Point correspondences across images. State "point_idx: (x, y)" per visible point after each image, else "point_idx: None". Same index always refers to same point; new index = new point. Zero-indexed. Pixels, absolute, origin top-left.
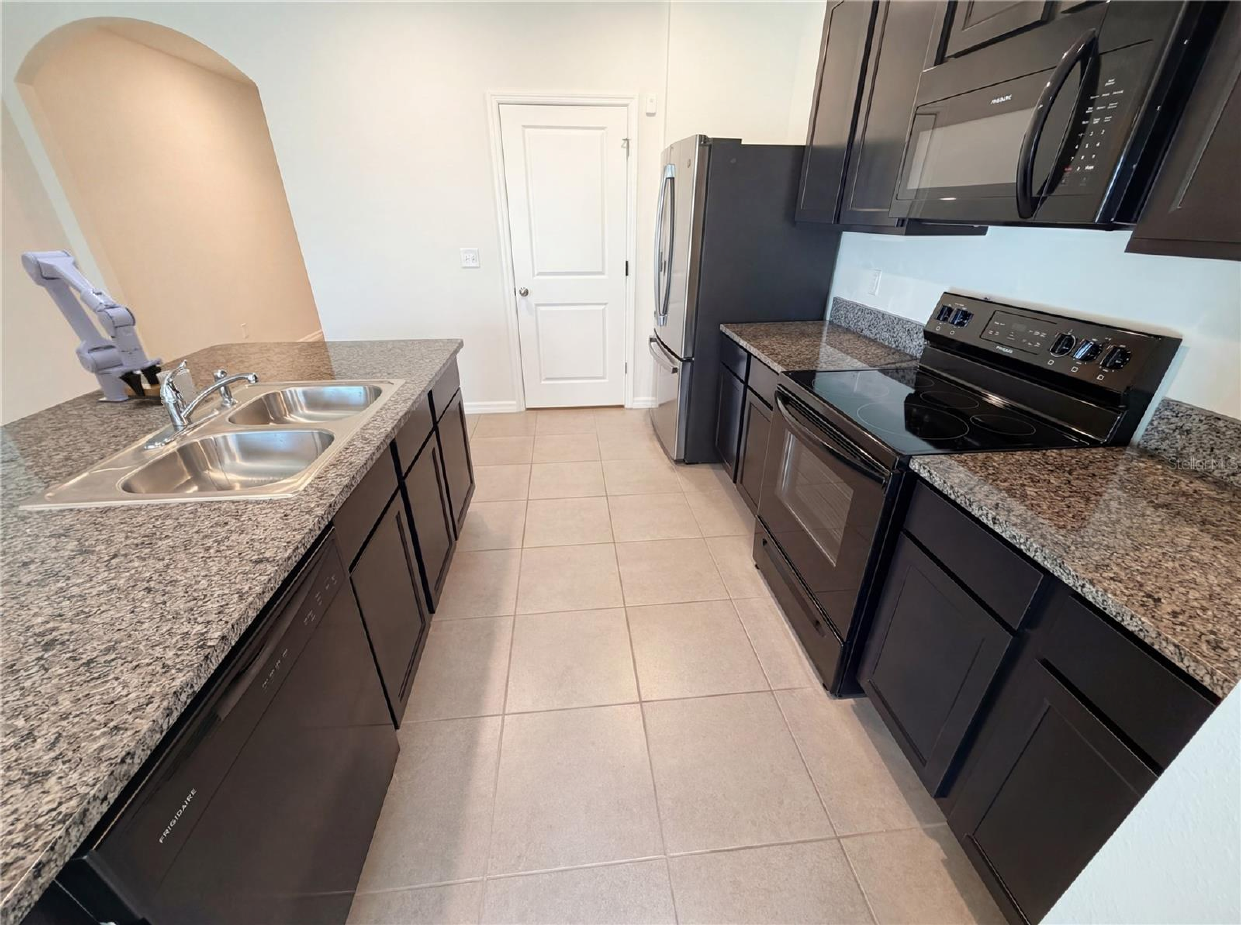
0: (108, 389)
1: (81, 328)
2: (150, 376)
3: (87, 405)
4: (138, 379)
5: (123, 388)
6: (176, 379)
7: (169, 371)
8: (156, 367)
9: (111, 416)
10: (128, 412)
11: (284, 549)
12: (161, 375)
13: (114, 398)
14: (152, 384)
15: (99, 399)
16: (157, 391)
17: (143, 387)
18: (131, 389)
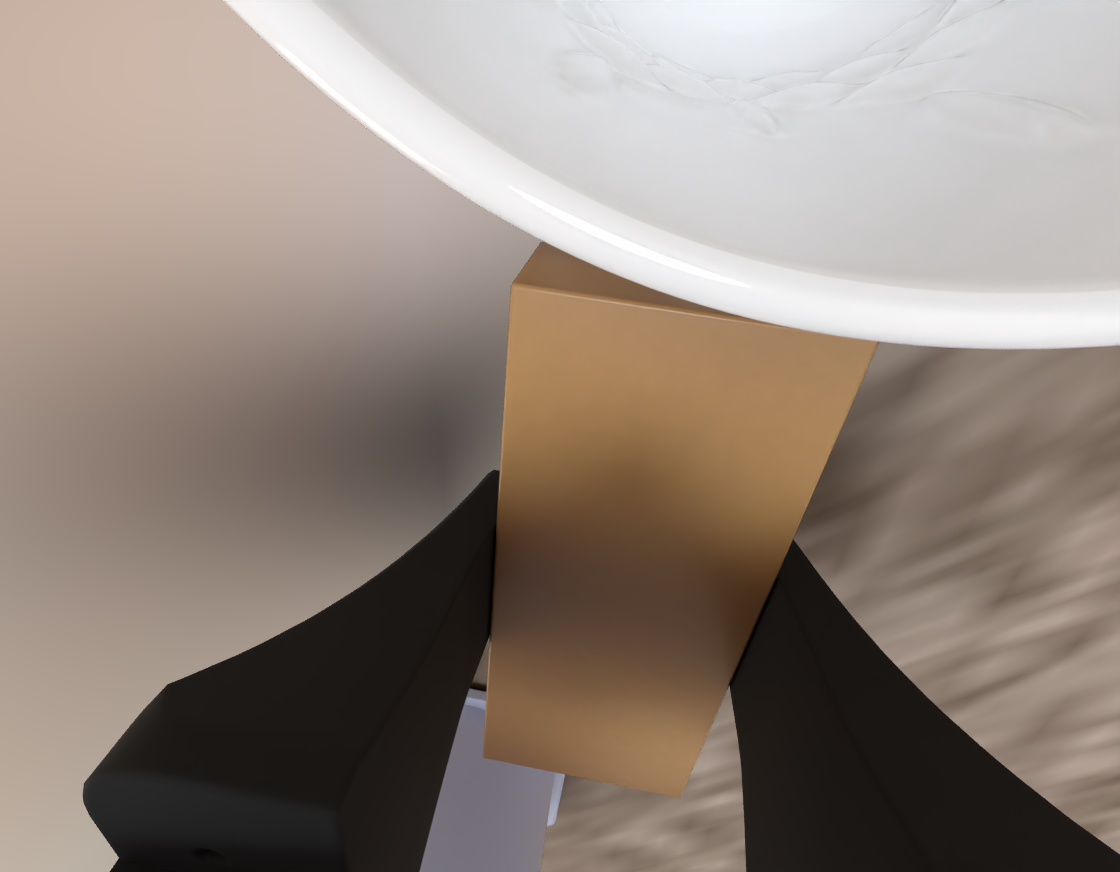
0: (537, 866)
1: None
2: (438, 716)
3: (640, 826)
4: (939, 774)
5: (681, 792)
6: None
7: (403, 34)
8: (191, 835)
9: (1093, 570)
10: (984, 491)
11: None
12: (939, 228)
13: None
14: (511, 588)
15: (548, 822)
16: None
17: (692, 617)
18: (708, 715)
